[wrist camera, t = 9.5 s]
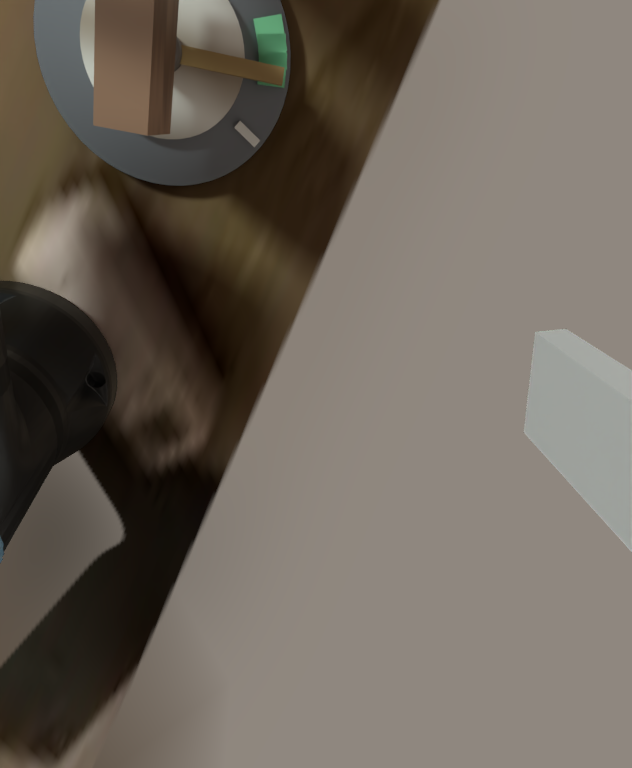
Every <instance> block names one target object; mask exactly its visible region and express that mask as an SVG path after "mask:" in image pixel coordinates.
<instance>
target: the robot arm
mask: <svg viewBox="0 0 632 768" xmlns="http://www.w3.org/2000/svg"><path fill="white" fill-rule="evenodd" d="M116 389H117V373H116V366H115V362H114V358H113V355H112V353H111V350H110V348H109V346H108V344H107V342H106V340H105V338H104V337H103V335H102V334H101V332H100V331H99V329H98V328H97V327H96V326H95V324H94V323H93V322H92V321H91V320H90V319H89V318H88V317H87V316H86V315H85V314H84V313H83V312H82V311H81V310H79V309H78V308H77V307H76V306H74V305H73V304H71V303H70V302H68V301H67V300H65V299H64V298H62V297H60V296H58V295H56V294H54V293H52V292H50V291H48V290H45V289H42V288H40V287H37V286H33V285H29V284H25V283H20V282H13V281H0V563H1V561H2V560H3V559H2V557H3V555H4V551H5V549H6V547H7V545H8V544H9V542H10V540H11V538H12V537H13V535H14V533H15V531H16V530H17V528H18V526H19V524H20V523H21V521H22V519H23V517H24V516H25V514H26V512H27V510H28V509H29V507H30V505H31V503H32V502H33V500H34V498H35V497H36V495H37V493H38V491H39V490H40V488H41V486H42V484H43V483H44V481H45V479H46V477H47V475H48V474H49V472H50V470H51V468H52V467H53V466H54V465H55V464H57V463H59V462H60V461H62V460H64V459H65V458H67V457H69V456H70V455H72V454H73V453H75V452H77V451H78V450H80V449H81V448H82V447H84V446H85V445H86V444H87V443H88V442H89V441H90V440H91V439H92V438H93V437H94V436H95V435H96V434H97V433H98V431H99V430H100V429H101V427H102V426H103V424H104V422H105V420H106V418H107V416H108V414H109V412H110V410H111V408H112V405H113V402H114V399H115V395H116ZM527 400H528V401H527V408H526V417H525V426H524V433H525V434H526V435H527V437H528V438H529V439H530V440H531V441H532V442H533V443H534V444H535V445H536V447H537V448H538V449H539V450H540V451H541V452H542V453H543V454H544V456H545V457H546V458H547V459H548V460H549V461H550V462H551V463H552V464H553V465H554V467H555V468H556V469H557V470H558V471H559V472H560V473H561V474H562V475H563V476H564V477H565V479H566V480H567V481H568V482H569V483H570V484H571V485H572V487H573V488H574V489H575V490H576V491H577V492H578V493H579V494H580V495H581V496H582V498H583V499H584V500H585V501H586V502H587V503H588V504H589V505H590V506H591V508H592V509H593V510H594V511H595V512H596V513H597V514H598V515H599V516H600V518H601V519H602V520H603V521H604V522H605V523H606V524H607V525H608V526H609V528H610V529H611V530H612V531H613V532H614V533H615V534H616V535H617V537H618V538H619V539H620V540H621V541H622V542H623V543H624V544H625V545H626V546H627V548H628V549H629V550H630V551H631V552H632V370H630V369H629V368H627V367H625V366H624V365H622V364H621V363H619V362H618V361H616V360H614V359H613V358H611V357H610V356H608V355H606V354H605V353H603V352H602V351H600V350H599V349H597V348H595V347H594V346H592V345H591V344H589V343H588V342H586V341H584V340H583V339H581V338H580V337H578V336H576V335H575V334H573V333H572V332H570V331H569V330H567V329H562V330H552V331H542V332H535V339H534V347H533V356H532V365H531V373H530V382H529V391H528V399H527Z"/></svg>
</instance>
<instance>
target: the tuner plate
mask: <svg viewBox="0 0 632 768" xmlns="http://www.w3.org/2000/svg"><path fill="white" fill-rule="evenodd" d="M85 1H86V0H35V7H34V38H35V45H36V52H37V57H38V61H39V65H40V69H41V72H42V76H43V78H44V81H45V83H46V86H47V89H48V91H49V93H50V95H51V97H52V99H53V101H54V103H55V105H56V107H57V109H58V111H59V112H60V114H61V115H62V117H63V118H64V120H65V121H66V123H67V124H68V126H69V127H70V128H71V129H72V130H73V132H74V133H75V134H76V135H77V136H78V138H79V139H80V140H81V141H82V142H83V143H84V144H85V145H86V146H87V147H88V148H89V149H90V150H91V151H92V152H94V153H95V154H96V155H98V156H99V157H100V158H101V159H103V160H104V161H105V162H107V163H108V164H110V165H112V166H113V167H115V168H117V169H118V170H120V171H122V172H124V173H126V174H129V175H131V176H133V177H135V178H138V179H141V180H145V181H148V182H151V183H157V184H163V185H175V186H185V185H194V184H200V183H204V182H208V181H212V180H214V179H217V178H219V177H222V176H224V175H226V174H228V173H230V172H231V171H233V170H235V169H237V168H238V167H239V166H241V165H242V164H243V163H245V162H246V161H247V160H248V159H250V158H251V157H252V156H253V155H254V153H255V152H256V151H257V150H258V149H259V148H260V147H261V146H262V145H263V143H264V142H265V140H266V139H267V138H268V136H269V135H270V133H271V131H272V130H273V128H274V126H275V124H276V122H277V120H278V118H279V115H280V113H281V110H282V108H283V105H284V101H285V97H286V94H287V90H288V84H289V76H290V58H291V51H290V40H289V32H288V27H287V22H286V17H285V13H284V10H283V7H282V4H281V1H280V0H228V1H229V2H230V4H231V6H232V8H233V10H234V12H235V14H236V17H237V19H238V22H239V25H240V29H241V32H242V37H243V43H244V54H245V59H248V60H253V61H257V62H262V63H266V64H271V65H275V66H280V67H284V75H283V83H282V86H279V85H274V84H269V83H265V82H260V81H255V80H251V79H246V78H243V80H242V84H241V87H240V91H239V93H238V96H237V98H236V100H235V102H234V104H233V105H232V107H231V109H230V110H229V112H228V113H227V114H226V115H225V116H224V118H223V119H222V120H220V121H219V122H218V123H217V124H216V125H215V126H213V127H212V128H210V129H209V130H207V131H205V132H203V133H201V134H199V135H196V136H193V137H189V138H183V139H162V138H156V137H153V136H147V135H141V134H136V133H131V132H126V131H120V130H115V129H110V128H105V127H99V126H94V125H93V106H94V87H93V85H92V83H91V81H90V79H89V77H88V74H87V72H86V69H85V65H84V62H83V58H82V52H81V47H80V22H81V16H82V11H83V7H84V4H85Z"/></svg>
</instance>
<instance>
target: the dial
mask: <svg viewBox="0 0 632 768" xmlns="http://www.w3.org/2000/svg"><path fill="white" fill-rule="evenodd" d="M80 47H81V52H82V58H83V62H84V65H85V69H86V72H87V74H88V77H89V79H90V81H91V83H92V85H93V87H94V106H93V125H94V126H99V127H105V128H110V129H115V130H120V131H126V132H131V133H136V134H141V135H147V136H153V137H156V138H162V139H183V138H189V137H193V136H196V135H199V134H201V133H203V132H205V131H207V130H209V129H210V128H212V127H213V126H215V125H216V124H217V123H218V122H219V121H220V120H222V119H223V118H224V116H225V115H226V114H227V113H228V112H229V110H230V109H231V107H232V105H233V104H234V102H235V100H236V98H237V96H238V93H239V91H240V87H241V84H242V80H243V78H246V79H251V80H255V81H260V82H265V83H269V84H274V85H279V86H282V83H283V75H284V67H280V66H275V65H271V64H266V63H262V62H257V61H253V60H248V59H245V54H244V43H243V37H242V32H241V29H240V25H239V22H238V19H237V17H236V14H235V12H234V10H233V8H232V6H231V4H230V2H229V1H228V0H86V1H85V4H84V7H83V11H82V16H81V22H80Z"/></svg>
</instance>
